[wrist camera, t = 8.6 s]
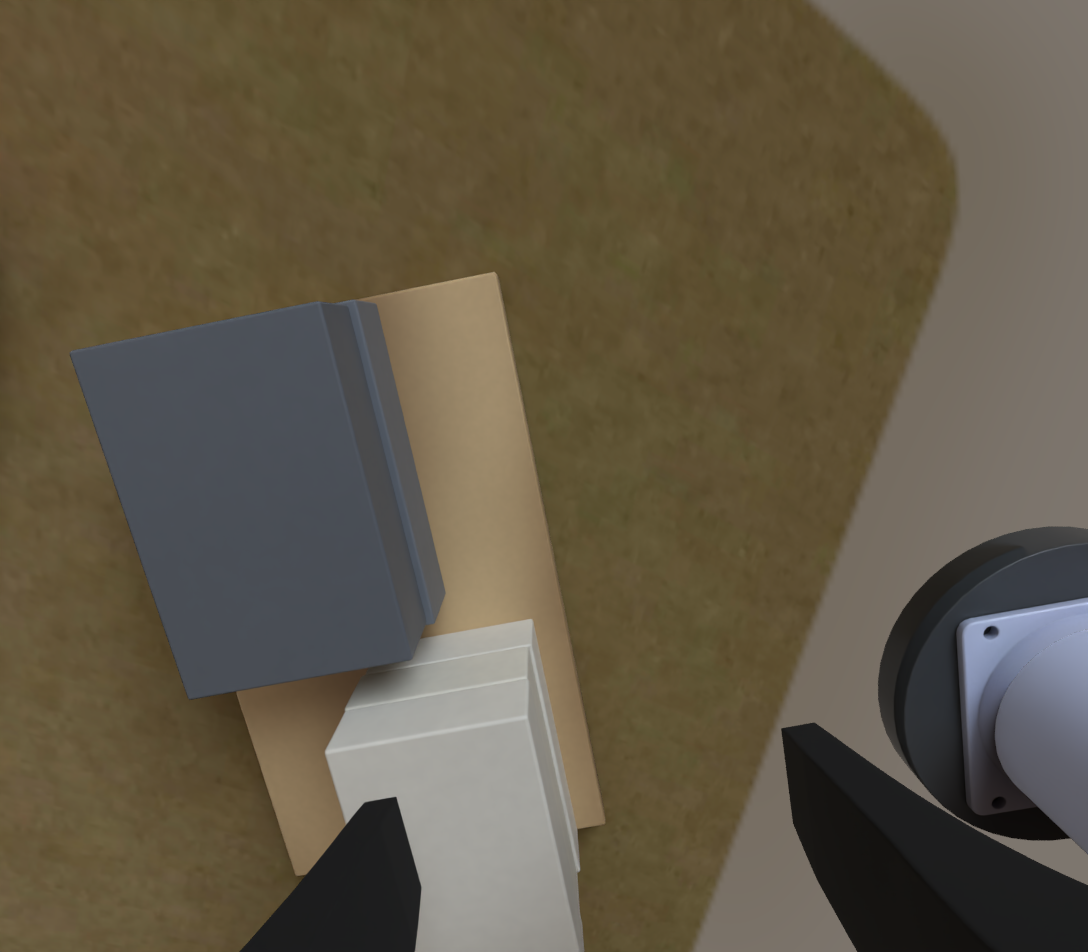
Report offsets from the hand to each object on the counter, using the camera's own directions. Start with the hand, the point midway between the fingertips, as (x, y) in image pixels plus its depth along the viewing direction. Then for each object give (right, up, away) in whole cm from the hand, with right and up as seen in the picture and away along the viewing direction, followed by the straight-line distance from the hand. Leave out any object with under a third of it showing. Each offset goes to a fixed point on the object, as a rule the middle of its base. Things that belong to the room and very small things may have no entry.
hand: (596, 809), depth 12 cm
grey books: (-8, +6, +8) cm, 13 cm away
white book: (-3, -3, +6) cm, 8 cm away
